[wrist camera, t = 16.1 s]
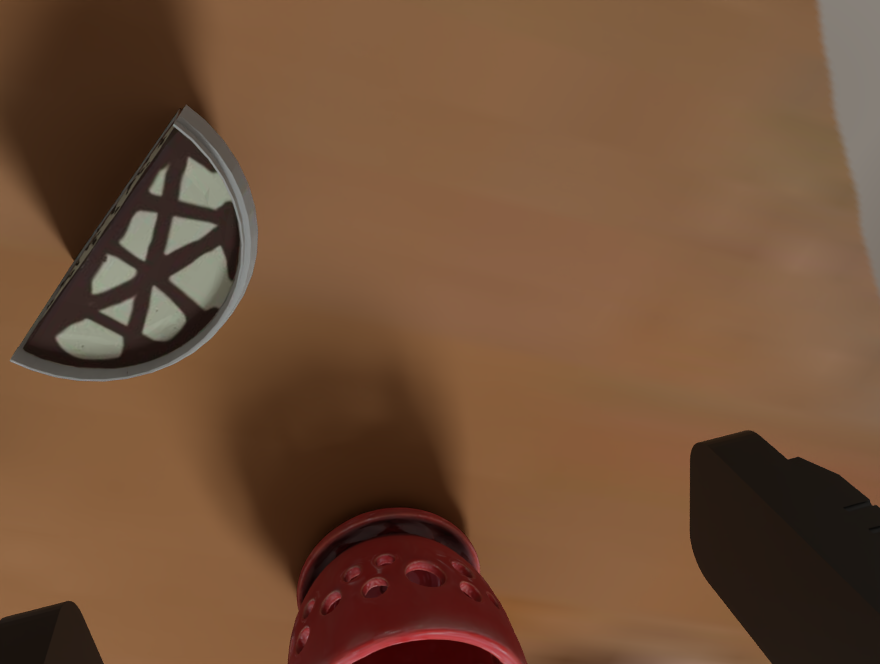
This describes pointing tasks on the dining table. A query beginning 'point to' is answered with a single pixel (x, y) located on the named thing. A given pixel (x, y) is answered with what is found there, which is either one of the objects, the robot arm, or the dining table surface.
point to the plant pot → (398, 596)
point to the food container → (153, 265)
